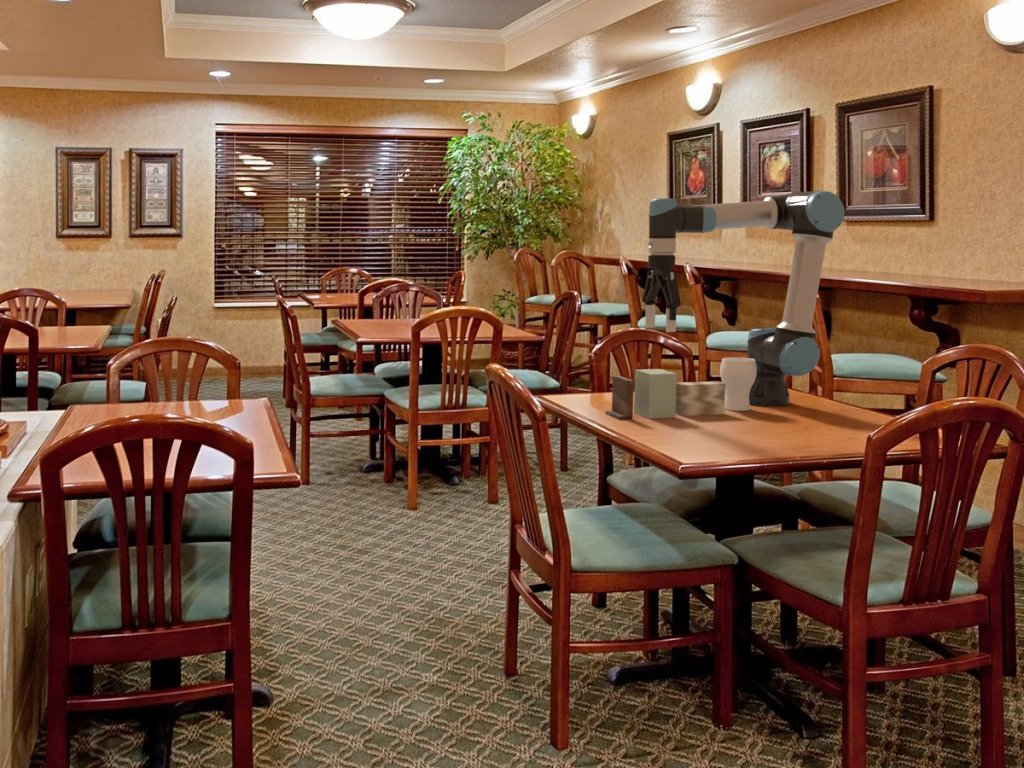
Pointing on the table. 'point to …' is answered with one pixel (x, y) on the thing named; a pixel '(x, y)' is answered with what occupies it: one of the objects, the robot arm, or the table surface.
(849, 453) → the table surface
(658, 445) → the table surface
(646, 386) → the block
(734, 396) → the cup
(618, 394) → the wall
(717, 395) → the peg
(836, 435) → the table surface
